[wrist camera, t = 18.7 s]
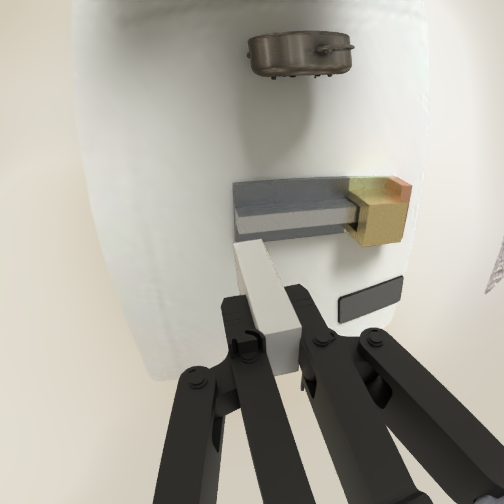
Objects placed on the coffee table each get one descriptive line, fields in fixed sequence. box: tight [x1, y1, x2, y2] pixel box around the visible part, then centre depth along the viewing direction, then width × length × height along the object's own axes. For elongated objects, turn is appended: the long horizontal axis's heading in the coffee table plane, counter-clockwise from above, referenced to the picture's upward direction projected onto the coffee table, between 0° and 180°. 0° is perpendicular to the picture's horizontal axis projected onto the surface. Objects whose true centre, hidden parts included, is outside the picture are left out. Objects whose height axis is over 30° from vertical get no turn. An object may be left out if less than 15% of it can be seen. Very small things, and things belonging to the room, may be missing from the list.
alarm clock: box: [247, 31, 355, 80], centre depth 26 cm, size 11×5×16 cm, turn 98°
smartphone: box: [338, 276, 403, 323], centre depth 57 cm, size 7×1×15 cm
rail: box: [233, 176, 412, 243], centre depth 42 cm, size 26×9×5 cm, turn 92°
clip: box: [344, 189, 408, 247], centre depth 43 cm, size 7×6×6 cm
